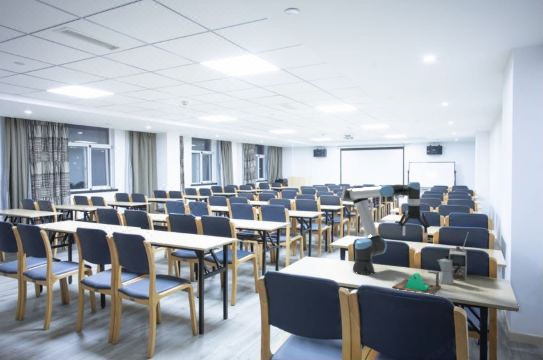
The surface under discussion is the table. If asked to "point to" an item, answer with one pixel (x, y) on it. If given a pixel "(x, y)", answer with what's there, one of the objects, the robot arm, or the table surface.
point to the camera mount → (416, 283)
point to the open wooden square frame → (434, 287)
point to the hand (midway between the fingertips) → (413, 236)
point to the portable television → (461, 258)
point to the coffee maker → (447, 270)
